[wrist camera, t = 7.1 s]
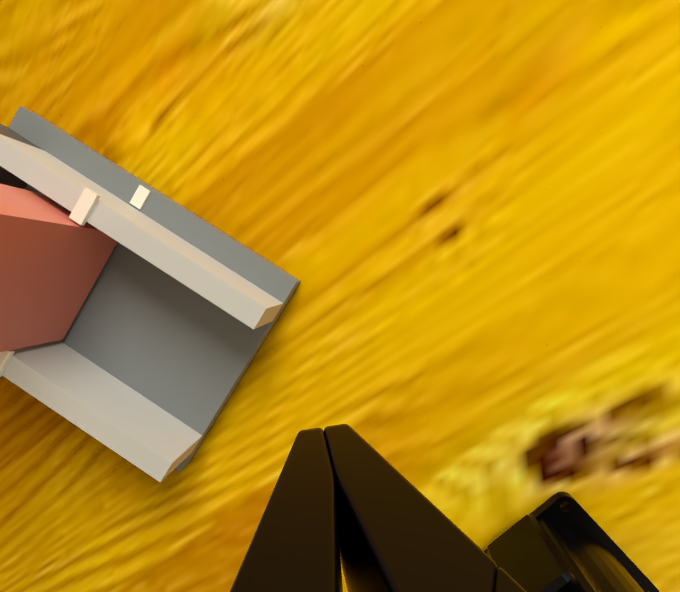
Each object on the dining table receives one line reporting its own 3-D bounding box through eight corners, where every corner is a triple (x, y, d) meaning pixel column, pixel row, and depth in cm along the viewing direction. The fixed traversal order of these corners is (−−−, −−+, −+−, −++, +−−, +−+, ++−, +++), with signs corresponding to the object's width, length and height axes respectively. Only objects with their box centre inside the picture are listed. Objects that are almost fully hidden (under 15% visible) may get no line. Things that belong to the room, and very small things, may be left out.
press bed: (300, 281, 21) (280, 282, 16) (189, 462, 22) (143, 508, 17) (36, 113, 21) (-47, 74, 17) (-60, 296, 22) (-161, 301, 18)
